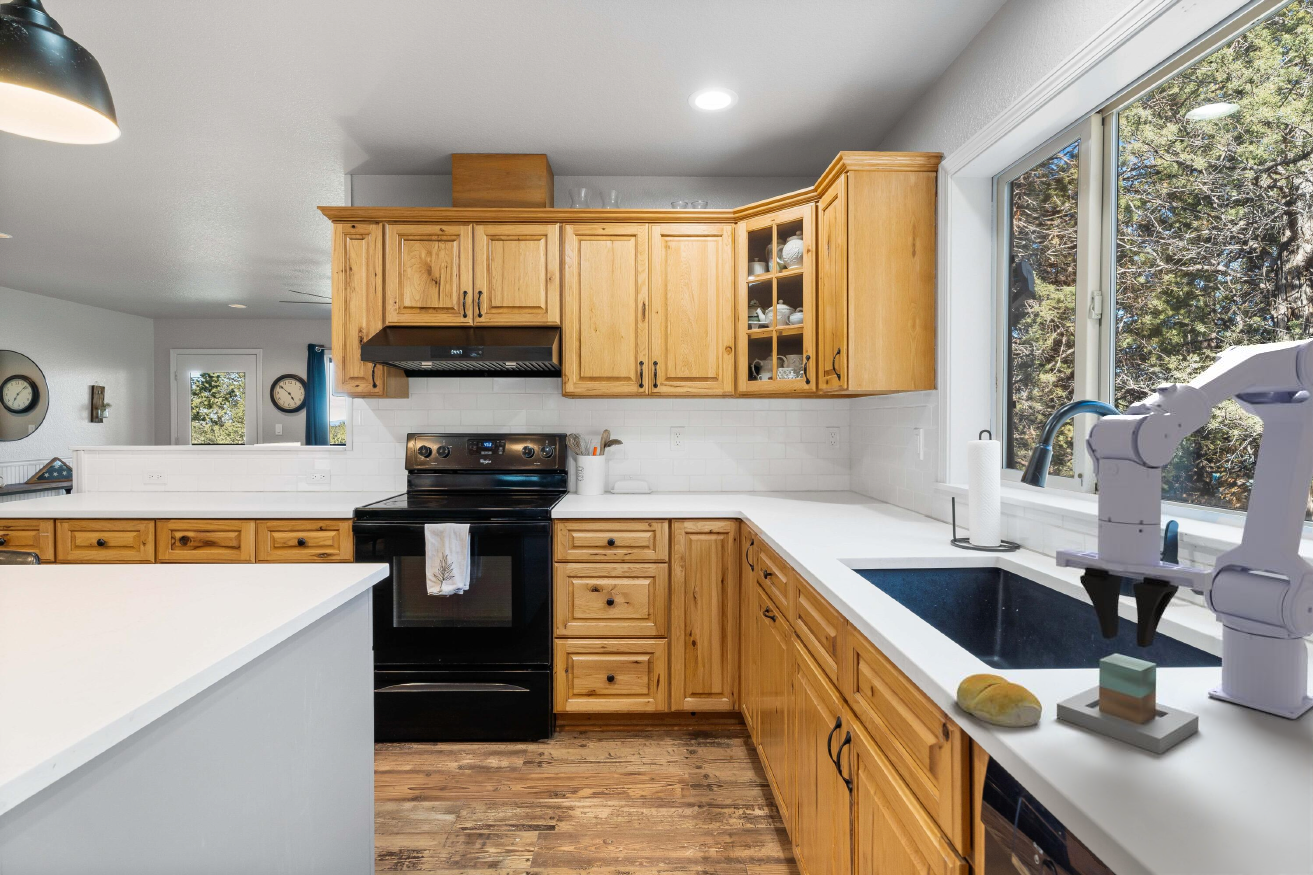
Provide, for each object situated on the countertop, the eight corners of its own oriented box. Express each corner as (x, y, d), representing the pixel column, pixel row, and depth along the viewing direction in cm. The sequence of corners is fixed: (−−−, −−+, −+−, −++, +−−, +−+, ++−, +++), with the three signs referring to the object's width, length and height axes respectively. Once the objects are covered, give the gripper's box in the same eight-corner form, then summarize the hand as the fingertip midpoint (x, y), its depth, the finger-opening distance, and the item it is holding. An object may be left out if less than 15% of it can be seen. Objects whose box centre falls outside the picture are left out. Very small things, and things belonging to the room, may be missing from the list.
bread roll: (996, 693, 82) (996, 662, 82) (1055, 725, 73) (1055, 690, 73) (939, 699, 80) (940, 667, 80) (993, 733, 71) (993, 697, 71)
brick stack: (1115, 703, 76) (1115, 653, 76) (1155, 716, 73) (1156, 663, 73) (1098, 711, 74) (1099, 659, 74) (1139, 725, 71) (1140, 670, 71)
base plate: (1098, 697, 80) (1098, 685, 80) (1198, 729, 72) (1198, 715, 72) (1056, 717, 75) (1056, 703, 75) (1159, 754, 66) (1159, 738, 66)
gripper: (1043, 516, 77) (1041, 629, 77) (1194, 532, 65) (1192, 667, 65) (1072, 512, 81) (1071, 620, 81) (1220, 527, 68) (1218, 654, 69)
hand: (1127, 640), depth 73 cm, fingers open, 3 cm apart
